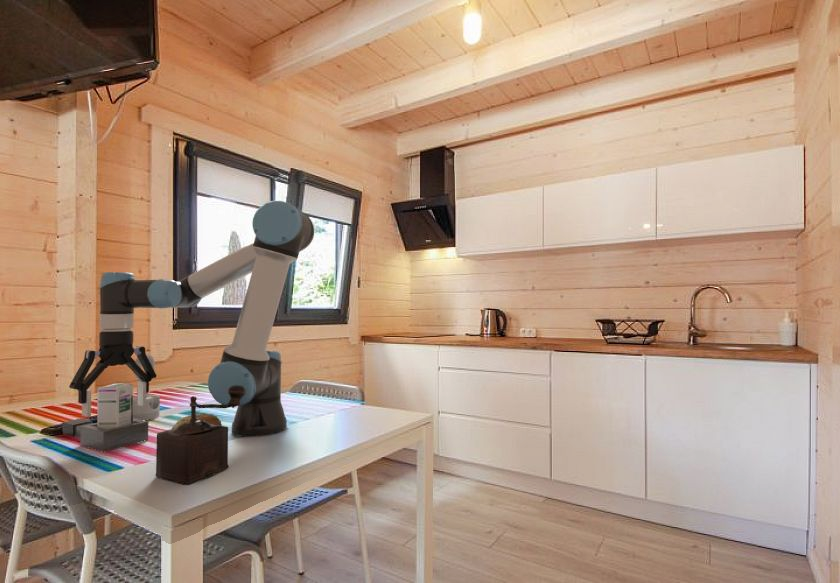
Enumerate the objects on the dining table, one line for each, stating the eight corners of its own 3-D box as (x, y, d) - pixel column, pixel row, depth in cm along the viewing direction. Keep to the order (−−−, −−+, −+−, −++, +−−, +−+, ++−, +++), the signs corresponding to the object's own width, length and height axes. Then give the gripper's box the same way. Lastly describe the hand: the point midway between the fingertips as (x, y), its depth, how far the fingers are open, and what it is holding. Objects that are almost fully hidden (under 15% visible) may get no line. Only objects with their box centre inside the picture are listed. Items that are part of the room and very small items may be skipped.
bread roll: (233, 439, 121) (233, 409, 121) (184, 456, 107) (184, 423, 108) (207, 435, 125) (207, 406, 125) (157, 451, 111) (157, 419, 112)
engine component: (115, 421, 139) (147, 421, 139) (116, 356, 140) (148, 356, 140) (138, 413, 150) (167, 413, 150) (139, 352, 151) (168, 352, 151)
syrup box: (118, 443, 115) (119, 386, 115) (95, 443, 115) (97, 386, 116) (133, 436, 121) (134, 382, 121) (112, 436, 121) (113, 382, 121)
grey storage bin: (148, 440, 120) (148, 421, 120) (103, 452, 111) (103, 431, 111) (93, 426, 134) (93, 410, 134) (49, 436, 124) (49, 418, 124)
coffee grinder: (189, 486, 90) (190, 396, 90) (154, 477, 94) (155, 392, 95) (249, 462, 104) (250, 384, 104) (216, 455, 108) (217, 380, 109)
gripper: (155, 327, 132) (154, 400, 131) (53, 332, 110) (52, 419, 109) (170, 328, 128) (169, 402, 127) (69, 333, 106) (67, 423, 106)
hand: (115, 410), depth 118 cm, fingers open, 13 cm apart
